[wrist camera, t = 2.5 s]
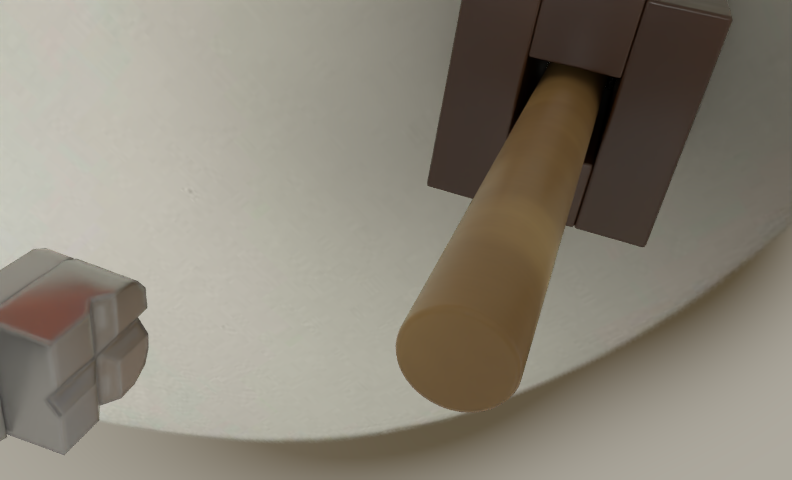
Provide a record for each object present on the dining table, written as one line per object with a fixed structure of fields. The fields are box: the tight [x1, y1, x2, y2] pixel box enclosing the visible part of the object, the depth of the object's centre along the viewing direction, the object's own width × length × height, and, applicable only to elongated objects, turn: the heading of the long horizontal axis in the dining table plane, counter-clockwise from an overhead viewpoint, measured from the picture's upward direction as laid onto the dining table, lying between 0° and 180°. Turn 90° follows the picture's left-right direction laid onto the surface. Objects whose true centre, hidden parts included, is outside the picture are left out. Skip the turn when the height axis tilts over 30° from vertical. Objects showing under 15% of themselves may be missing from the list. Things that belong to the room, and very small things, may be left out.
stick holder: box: [427, 0, 732, 247], centre depth 22 cm, size 6×6×7 cm
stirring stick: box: [396, 62, 608, 412], centre depth 17 cm, size 2×2×18 cm
